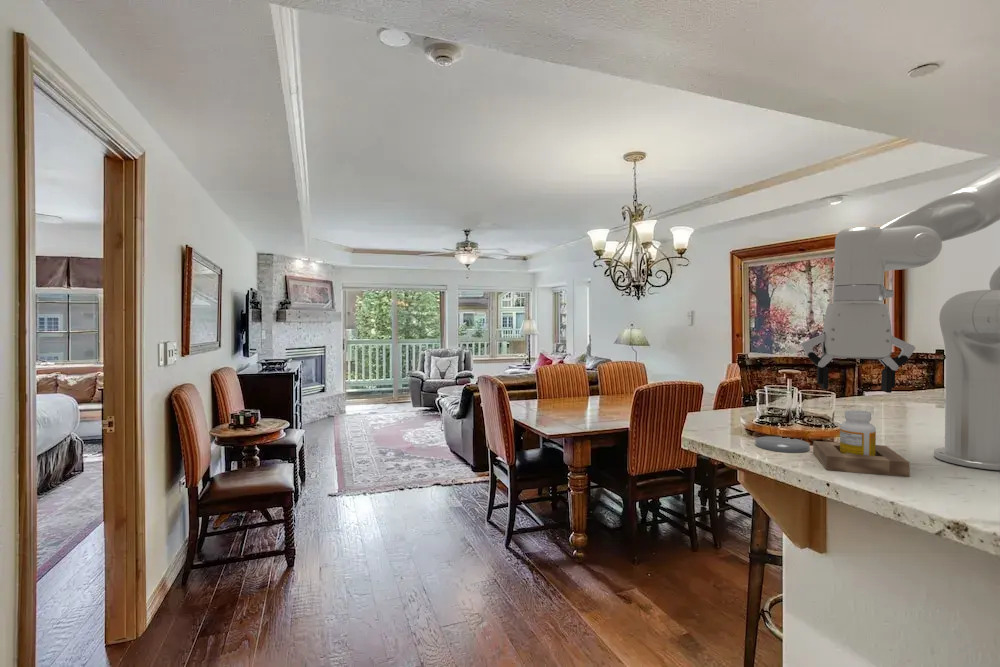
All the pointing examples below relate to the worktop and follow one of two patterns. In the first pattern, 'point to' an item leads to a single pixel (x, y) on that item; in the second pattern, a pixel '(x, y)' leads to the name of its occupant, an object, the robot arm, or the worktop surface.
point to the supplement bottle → (857, 434)
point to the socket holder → (861, 460)
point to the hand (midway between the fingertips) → (854, 390)
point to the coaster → (782, 444)
